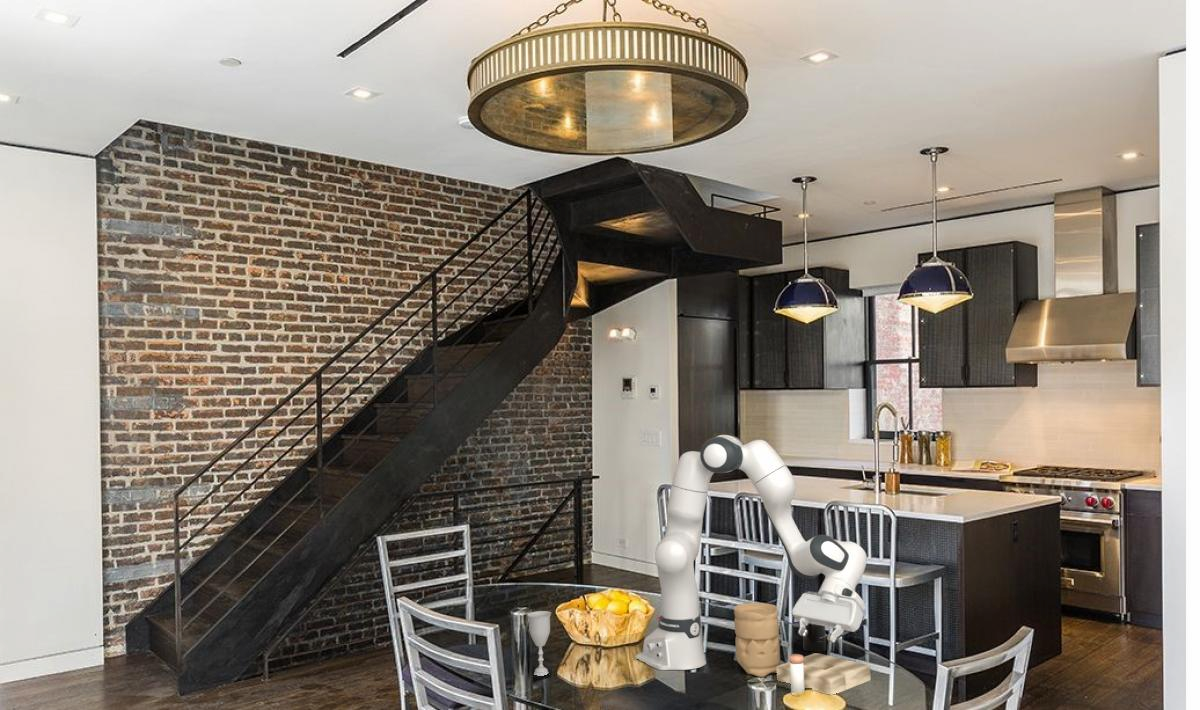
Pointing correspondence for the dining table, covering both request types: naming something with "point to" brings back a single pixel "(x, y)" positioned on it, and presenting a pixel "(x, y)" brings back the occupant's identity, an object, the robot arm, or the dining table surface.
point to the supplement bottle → (814, 638)
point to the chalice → (539, 635)
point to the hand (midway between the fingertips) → (815, 637)
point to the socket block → (828, 673)
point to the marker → (796, 673)
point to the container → (757, 638)
